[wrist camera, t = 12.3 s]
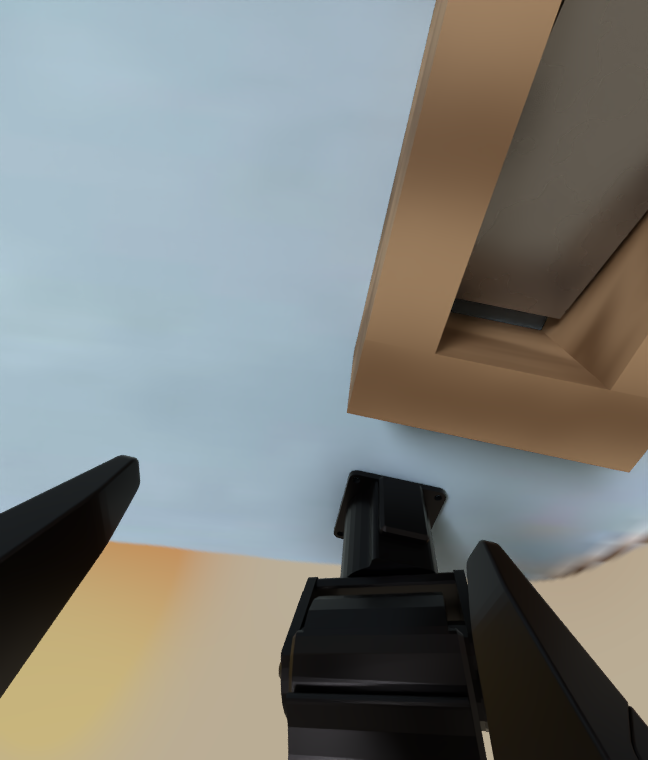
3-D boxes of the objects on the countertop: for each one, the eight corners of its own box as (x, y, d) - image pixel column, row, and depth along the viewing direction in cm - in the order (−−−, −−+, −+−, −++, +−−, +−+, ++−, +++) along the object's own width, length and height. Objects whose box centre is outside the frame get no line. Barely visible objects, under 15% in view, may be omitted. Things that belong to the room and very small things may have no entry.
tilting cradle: (556, 311, 16) (559, 318, 16) (436, 286, 17) (437, 294, 16) (831, -43, 8) (850, -43, 8) (594, -84, 9) (602, -87, 8)
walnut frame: (560, 395, 20) (629, 472, 14) (353, 352, 20) (346, 412, 15) (880, -150, 10) (1407, -498, 5) (486, -216, 11) (597, -612, 5)
